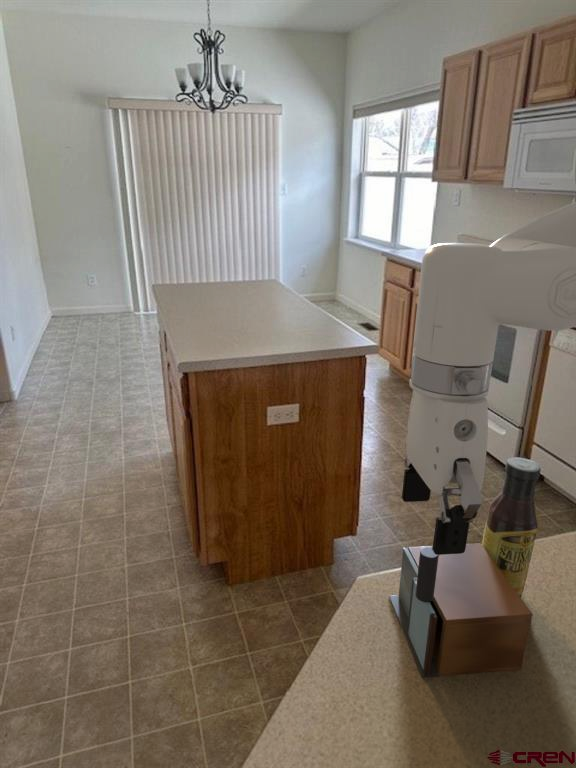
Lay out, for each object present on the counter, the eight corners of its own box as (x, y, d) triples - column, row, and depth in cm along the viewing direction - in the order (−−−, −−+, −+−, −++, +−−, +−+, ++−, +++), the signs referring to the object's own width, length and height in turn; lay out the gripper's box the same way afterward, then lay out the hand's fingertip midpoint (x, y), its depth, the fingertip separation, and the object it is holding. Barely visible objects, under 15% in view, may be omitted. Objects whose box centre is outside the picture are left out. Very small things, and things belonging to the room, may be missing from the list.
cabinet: (472, 591, 74) (480, 542, 71) (521, 669, 62) (532, 613, 59) (388, 597, 73) (393, 548, 70) (421, 677, 60) (428, 621, 58)
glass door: (416, 630, 67) (427, 534, 62) (436, 673, 61) (449, 571, 56) (401, 631, 66) (411, 535, 62) (419, 675, 60) (431, 572, 56)
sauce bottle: (491, 612, 70) (514, 479, 64) (465, 581, 76) (483, 456, 69) (533, 603, 72) (560, 472, 65) (504, 573, 78) (526, 450, 71)
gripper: (534, 405, 44) (502, 575, 50) (451, 350, 61) (434, 483, 66) (447, 407, 44) (425, 580, 49) (387, 350, 60) (375, 485, 65)
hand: (430, 524), depth 58 cm, fingers open, 9 cm apart
